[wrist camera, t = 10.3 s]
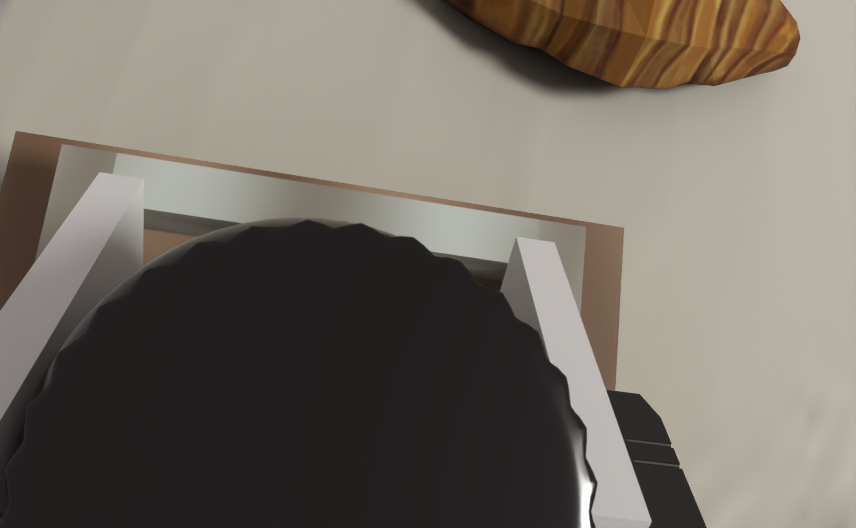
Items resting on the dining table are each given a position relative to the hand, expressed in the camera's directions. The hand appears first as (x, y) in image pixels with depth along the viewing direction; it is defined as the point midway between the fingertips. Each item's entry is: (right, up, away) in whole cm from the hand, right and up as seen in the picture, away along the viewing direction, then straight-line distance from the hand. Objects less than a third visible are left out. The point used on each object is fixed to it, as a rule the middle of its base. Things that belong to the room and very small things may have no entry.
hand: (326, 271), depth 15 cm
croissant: (+8, +9, +14) cm, 19 cm away
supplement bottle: (-1, -4, +3) cm, 5 cm away
